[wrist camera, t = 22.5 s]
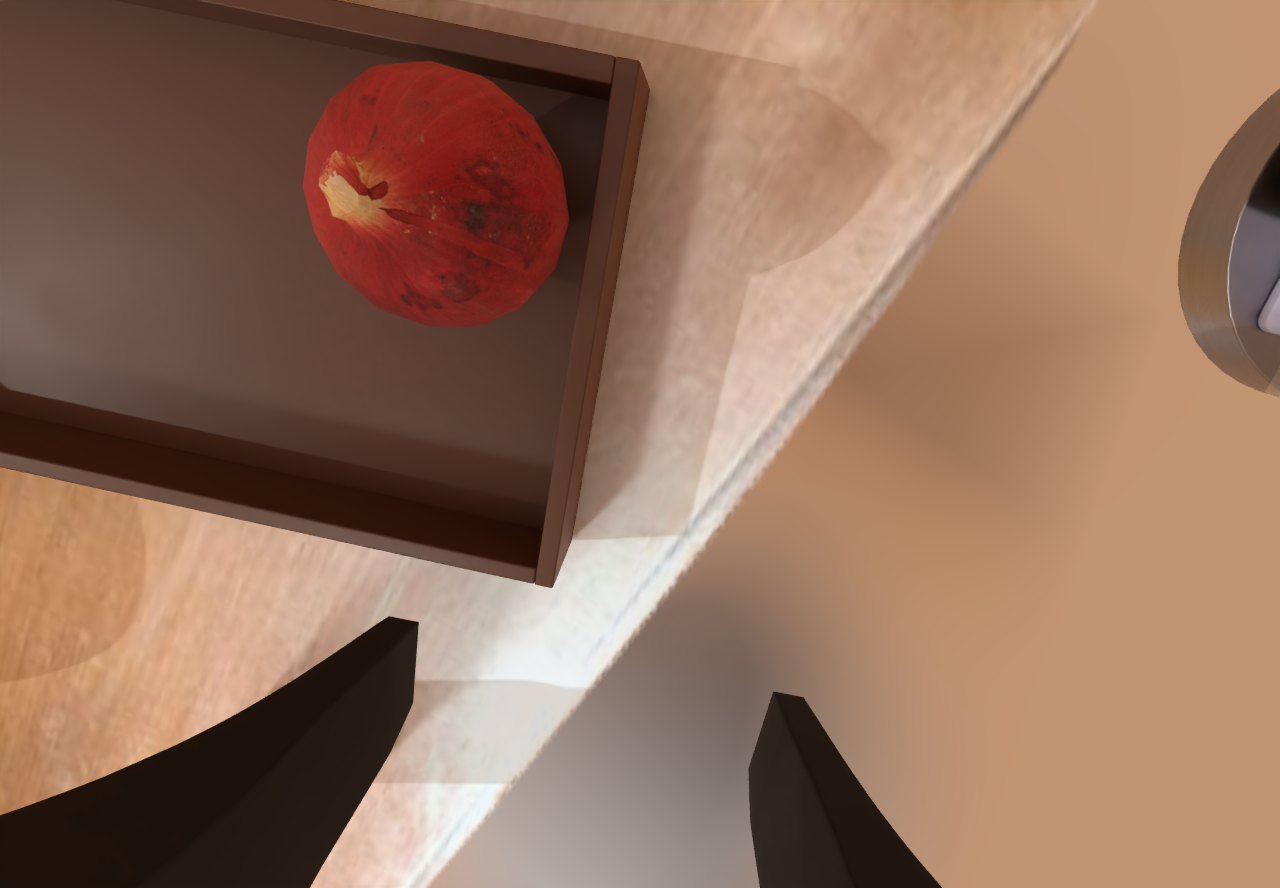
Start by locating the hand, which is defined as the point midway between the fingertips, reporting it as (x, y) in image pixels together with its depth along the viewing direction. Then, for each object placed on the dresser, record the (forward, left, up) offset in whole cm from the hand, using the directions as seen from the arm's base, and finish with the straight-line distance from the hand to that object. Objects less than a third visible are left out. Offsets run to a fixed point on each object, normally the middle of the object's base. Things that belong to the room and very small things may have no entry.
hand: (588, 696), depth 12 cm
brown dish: (+17, -5, -10) cm, 20 cm away
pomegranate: (+6, -8, -10) cm, 14 cm away
